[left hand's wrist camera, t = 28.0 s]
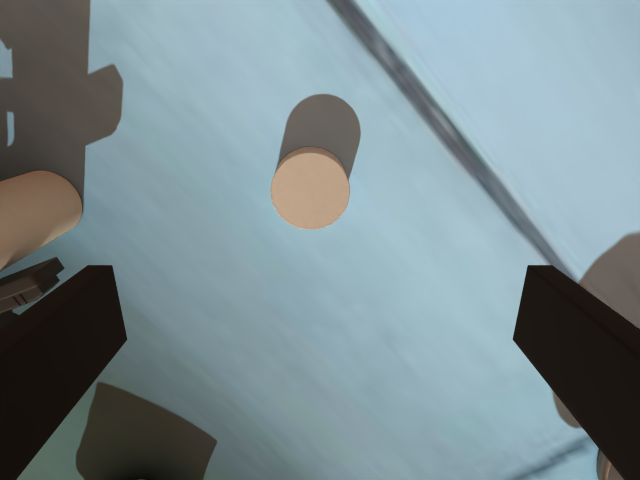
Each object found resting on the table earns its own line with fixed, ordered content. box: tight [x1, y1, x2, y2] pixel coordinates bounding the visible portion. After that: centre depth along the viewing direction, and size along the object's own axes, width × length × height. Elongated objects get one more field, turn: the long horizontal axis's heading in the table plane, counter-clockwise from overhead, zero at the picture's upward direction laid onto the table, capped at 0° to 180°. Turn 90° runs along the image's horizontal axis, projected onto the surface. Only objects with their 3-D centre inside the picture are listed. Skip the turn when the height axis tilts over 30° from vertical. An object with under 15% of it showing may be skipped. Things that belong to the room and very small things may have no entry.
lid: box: [271, 147, 350, 230], centre depth 24 cm, size 5×5×2 cm
